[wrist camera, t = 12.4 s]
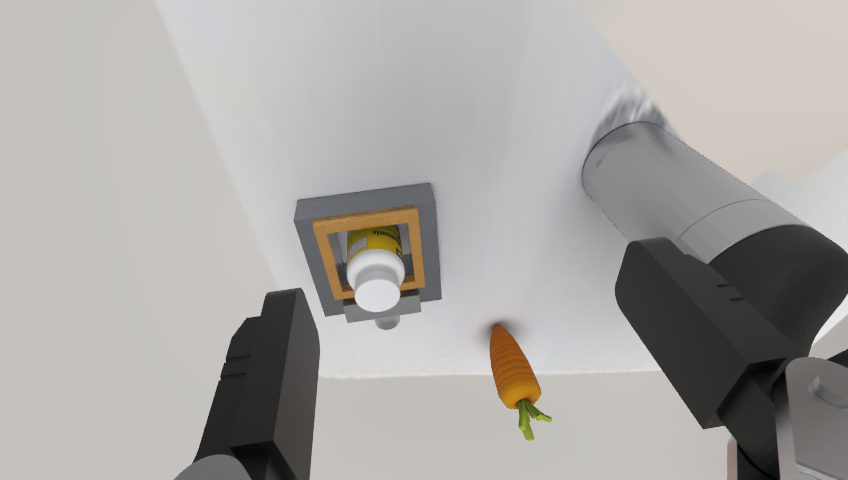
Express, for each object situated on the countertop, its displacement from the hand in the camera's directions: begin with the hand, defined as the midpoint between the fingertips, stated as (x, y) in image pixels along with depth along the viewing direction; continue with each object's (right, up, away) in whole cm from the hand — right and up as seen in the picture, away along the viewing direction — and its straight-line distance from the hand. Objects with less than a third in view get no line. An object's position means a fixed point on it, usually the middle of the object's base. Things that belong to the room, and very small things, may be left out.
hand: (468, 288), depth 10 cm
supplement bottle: (-6, +2, +33) cm, 34 cm away
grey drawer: (-6, -1, +35) cm, 36 cm away
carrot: (+9, -10, +46) cm, 47 cm away
